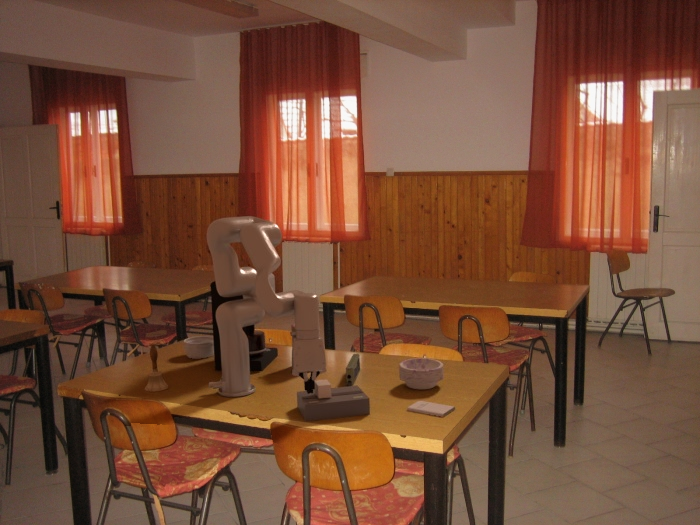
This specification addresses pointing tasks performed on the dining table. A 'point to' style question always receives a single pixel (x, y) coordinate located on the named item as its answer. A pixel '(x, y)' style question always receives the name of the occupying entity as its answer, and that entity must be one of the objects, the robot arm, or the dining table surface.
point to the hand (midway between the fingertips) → (309, 392)
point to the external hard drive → (431, 408)
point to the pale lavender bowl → (421, 373)
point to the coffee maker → (256, 338)
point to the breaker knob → (322, 388)
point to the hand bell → (155, 374)
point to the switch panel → (333, 404)
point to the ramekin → (199, 347)
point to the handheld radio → (352, 369)
